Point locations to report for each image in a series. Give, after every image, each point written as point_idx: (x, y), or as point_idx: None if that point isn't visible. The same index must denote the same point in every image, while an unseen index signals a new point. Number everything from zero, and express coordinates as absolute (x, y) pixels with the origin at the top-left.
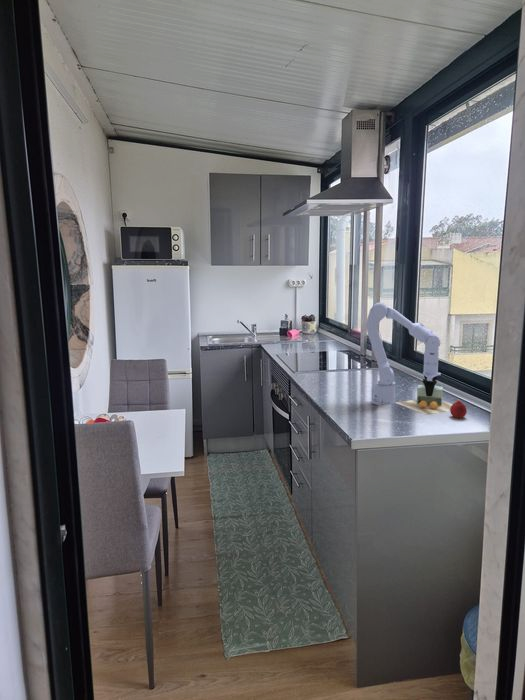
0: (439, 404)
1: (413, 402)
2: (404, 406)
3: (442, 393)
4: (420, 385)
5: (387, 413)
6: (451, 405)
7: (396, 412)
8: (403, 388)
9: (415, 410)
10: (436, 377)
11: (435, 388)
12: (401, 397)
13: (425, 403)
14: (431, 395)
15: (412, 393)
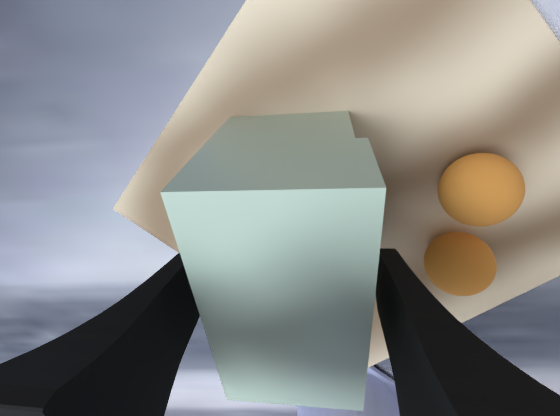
0: None
1: None
2: None
3: (230, 151)
4: (239, 388)
5: (545, 381)
6: (300, 10)
7: (520, 351)
8: (11, 333)
9: (536, 284)
10: (72, 390)
11: (320, 276)
12: (190, 337)
13: (491, 259)
14: (402, 258)
15: (70, 297)
